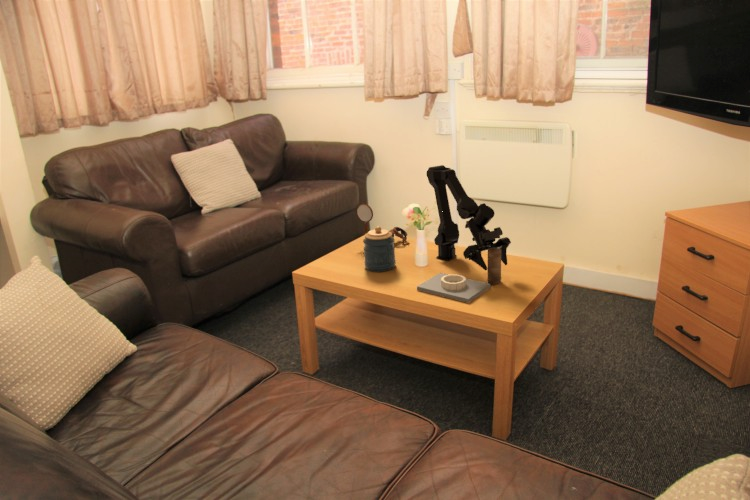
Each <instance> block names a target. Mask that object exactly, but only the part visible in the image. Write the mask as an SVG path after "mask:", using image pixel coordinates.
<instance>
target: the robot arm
mask: <svg viewBox="0 0 750 500" xmlns="http://www.w3.org/2000/svg"><path fill="white" fill-rule="evenodd" d="M426 178H427V179H428V183H429V184H430V185H431V187H432V188H433V190H434V194H435V200H436V206H437V212H438V216H439V225H438V228H437V234H436V236H435V238H434V239H433V241H434V244H435V246H437V250H438V251H437V252H438V253H437V256H436V257H435V258H436V259H439V260H444V261H451V260H453V259H454V258H456V257H457V254H456V247H455V244H458V242H459V239H460V231H459V225H458V223H455V222H454V220H453V218H452V213H451V207H450V201H449V197H448V192H447V187H448V190H449V191H450V194H451V195H452V197H453V198H454V200H455V202H456V212H457V214H458V216H459V217H460V218H461V219H462V220H466V221H465V226H464V228H465V229H469V231H470V233H471V235H472V238H471V239H472V242H475V244H470V245H468V246H467V247H466V248H465V249H464V251H463V252H462V254H463V257H464V259H465V260H467V259H468V261H472V262H473V263H474V264H476V265H478V266H479V267H480V268H482V269H483V270H484V271H488V265H487V264H486V262H485V260H484V258H483V256H482V252H485V251H488V249H491V248H498V249H501V263H502V264H503V265H504V266H507V265H508V257H507V256H508V255H507V249H508V248H509V246H510V245H511V243H512V242H511V239H510V238H509V237H508V236H506V237H501V236H503V234H504V233H503V230H502V228H501V226H499V227H495V228H494V229H493V230H490V229H487V228H486V226H487V225H488V224H489V223H490V221H491V220H492V219H493V218H494V216H495V211H494V209H493V208H492V207H490V206H489V205H487V204H486V203H480V204H479V205H478V203H477V202H476V201H475V200H474V199H473V198H471V197H470V196H469V195H468V194H467V192H466V190H465V189H464V187H463V185H462V184H461V181H460V180H459V178H458V176H457V173H456V171H455V169H452V168H451V167H446V165H443V164H442V165H441V164H440V165H434V166H429V167H428V169H427V171H426ZM442 211H443V212H442ZM467 219H469V220H467ZM496 239H498V240H497V241H496Z"/></svg>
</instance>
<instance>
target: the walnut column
mask: <svg viewBox="0 0 750 500" xmlns="http://www.w3.org/2000/svg"><path fill="white" fill-rule="evenodd" d="M486 283H489V284H490V286H499V285H501V283H502V260H501V249H498V248H491V249H488V250H487V282H486Z"/></svg>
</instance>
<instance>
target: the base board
mask: <svg viewBox="0 0 750 500" xmlns="http://www.w3.org/2000/svg"><path fill="white" fill-rule="evenodd" d="M489 289H491V285H490V284H489V283H487V282H485V281H480V280H475V279H470V278H466V277H465V276H464V275H461V274H456V273H455V274H449V273H443V272H439V273H437V274H435V275H434V276H432V277H431V278H429V279H426V281H424V282H422V283H420V284H418V285H417V286H416V291H418V292H419V291H420V292H423V293H427V294H432V295H435V296H438V297H443V298H448V299H451V300H456V301H460V302H463V303H466V304H469V303H470V302H472V301H473V300H475V299H476V298H478V297H479V296H480V295H482V294H483V293H485V292H486V291H487V290H489Z"/></svg>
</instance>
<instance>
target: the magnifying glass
mask: <svg viewBox="0 0 750 500" xmlns="http://www.w3.org/2000/svg"><path fill="white" fill-rule="evenodd" d="M356 215H357V218H358V219H359V220H360V221H361V222H362V223H363V224H364V225H363V226H364V235H365V234H366V233H368V223H369V222H371V221H372V219H373V218H374V211H373V209H372V208H371V206H370V205H368V204H366V203H361V204H359V205H358V206H357V208H356ZM365 238H366V237H365V236H364V239H365Z"/></svg>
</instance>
